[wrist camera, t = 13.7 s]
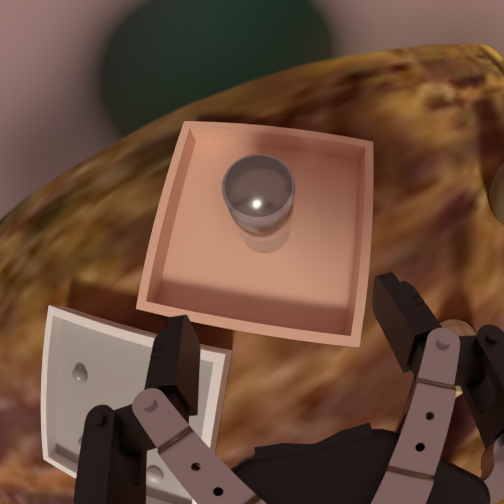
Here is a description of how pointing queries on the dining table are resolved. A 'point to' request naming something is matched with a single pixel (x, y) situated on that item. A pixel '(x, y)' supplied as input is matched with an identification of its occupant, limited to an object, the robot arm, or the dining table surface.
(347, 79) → the dining table surface
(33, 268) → the dining table surface
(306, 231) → the terracotta bin
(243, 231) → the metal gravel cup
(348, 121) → the dining table surface
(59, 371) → the bin
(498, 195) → the squeeze bottle
